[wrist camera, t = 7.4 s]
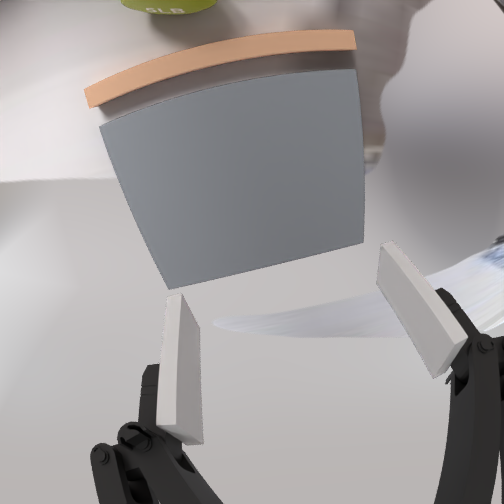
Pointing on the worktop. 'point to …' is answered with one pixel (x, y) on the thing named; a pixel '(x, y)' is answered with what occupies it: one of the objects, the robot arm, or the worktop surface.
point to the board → (244, 173)
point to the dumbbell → (169, 6)
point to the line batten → (217, 58)
